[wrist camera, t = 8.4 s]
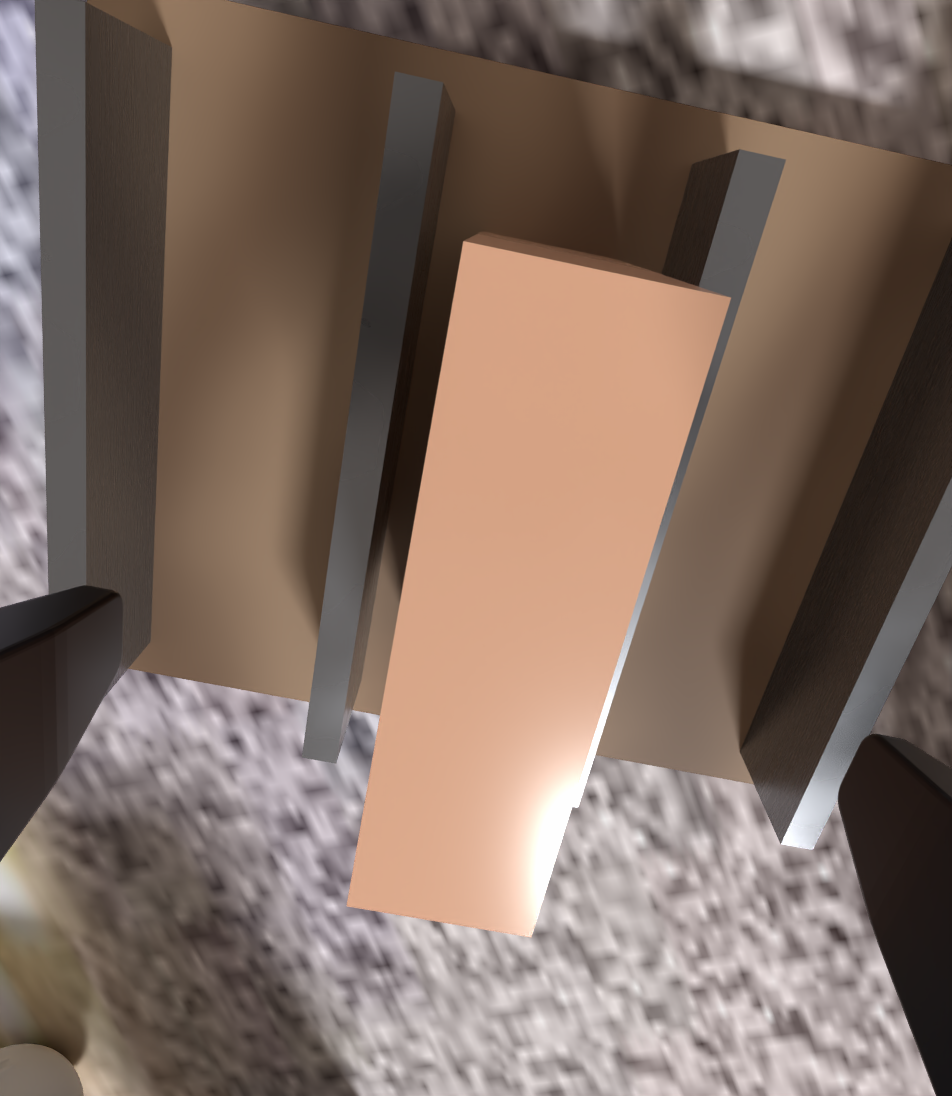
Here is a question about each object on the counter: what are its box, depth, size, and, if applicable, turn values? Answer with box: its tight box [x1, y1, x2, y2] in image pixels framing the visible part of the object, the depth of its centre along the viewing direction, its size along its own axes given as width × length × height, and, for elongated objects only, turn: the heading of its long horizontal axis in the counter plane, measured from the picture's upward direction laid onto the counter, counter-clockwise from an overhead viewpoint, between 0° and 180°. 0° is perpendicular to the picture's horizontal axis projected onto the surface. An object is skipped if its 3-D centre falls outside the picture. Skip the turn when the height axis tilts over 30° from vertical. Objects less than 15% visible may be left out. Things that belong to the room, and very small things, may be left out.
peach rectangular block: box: [347, 231, 731, 937], centre depth 14 cm, size 3×10×9 cm, turn 169°
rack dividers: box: [35, 0, 952, 850], centre depth 17 cm, size 18×14×4 cm
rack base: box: [87, 0, 952, 784], centre depth 19 cm, size 20×16×1 cm
